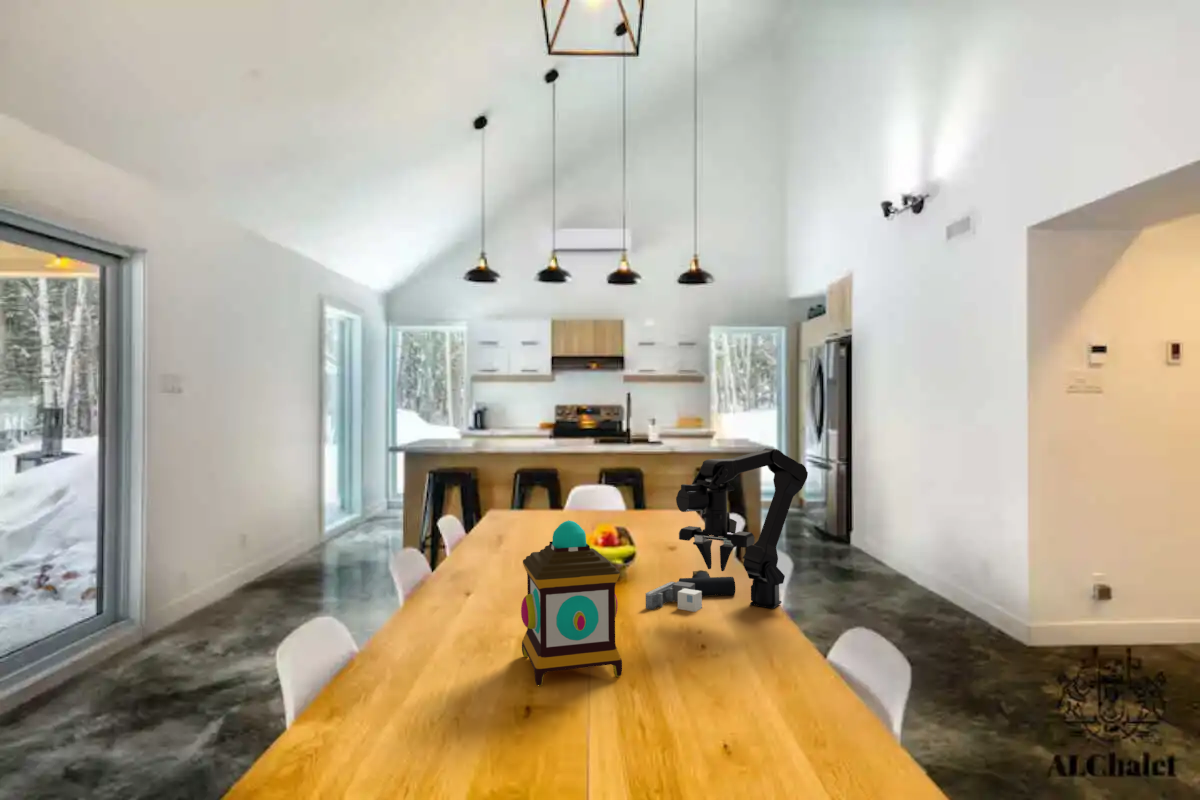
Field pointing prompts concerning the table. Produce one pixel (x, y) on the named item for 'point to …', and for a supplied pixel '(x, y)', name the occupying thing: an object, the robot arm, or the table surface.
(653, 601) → the rail
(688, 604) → the block
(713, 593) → the pipe connector
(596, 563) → the decorative lantern
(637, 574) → the table surface
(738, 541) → the robot arm
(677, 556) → the table surface
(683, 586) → the block
